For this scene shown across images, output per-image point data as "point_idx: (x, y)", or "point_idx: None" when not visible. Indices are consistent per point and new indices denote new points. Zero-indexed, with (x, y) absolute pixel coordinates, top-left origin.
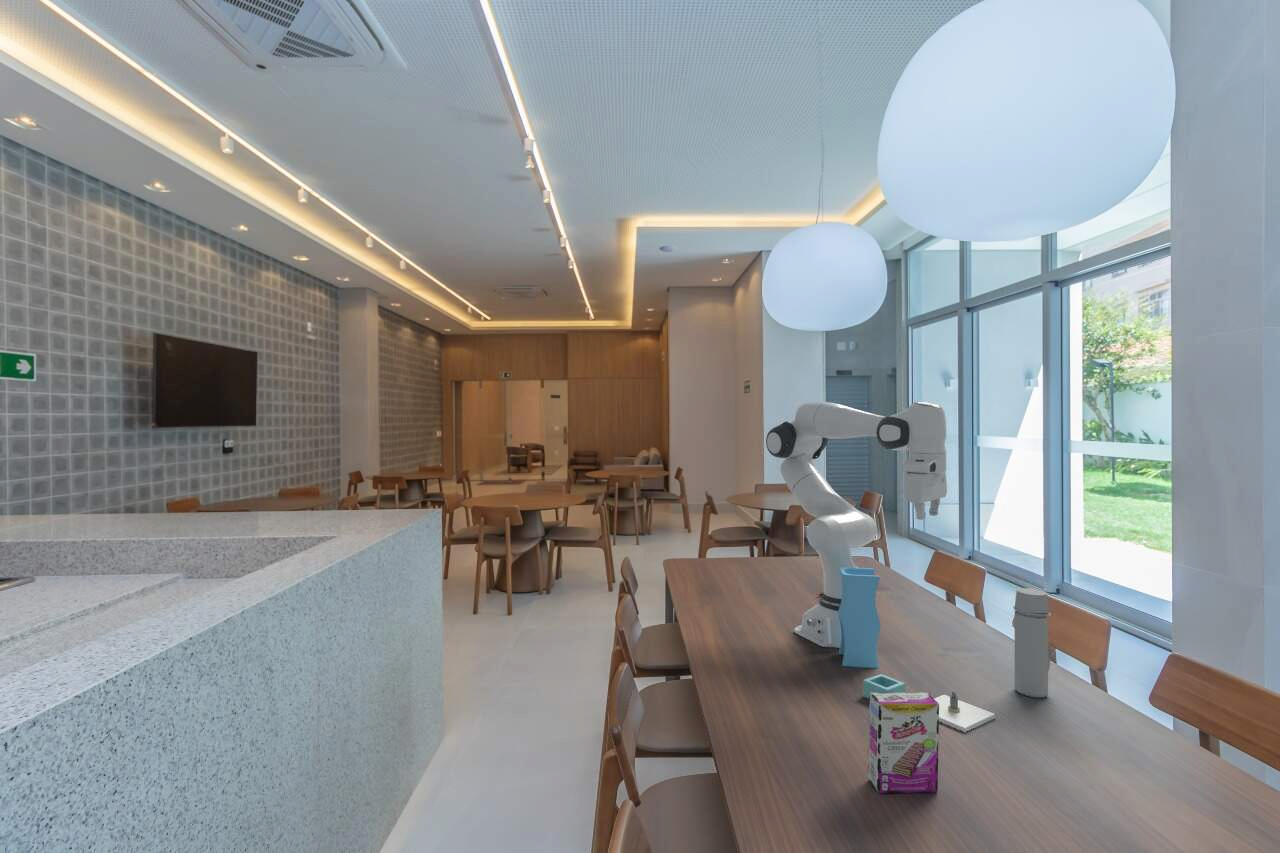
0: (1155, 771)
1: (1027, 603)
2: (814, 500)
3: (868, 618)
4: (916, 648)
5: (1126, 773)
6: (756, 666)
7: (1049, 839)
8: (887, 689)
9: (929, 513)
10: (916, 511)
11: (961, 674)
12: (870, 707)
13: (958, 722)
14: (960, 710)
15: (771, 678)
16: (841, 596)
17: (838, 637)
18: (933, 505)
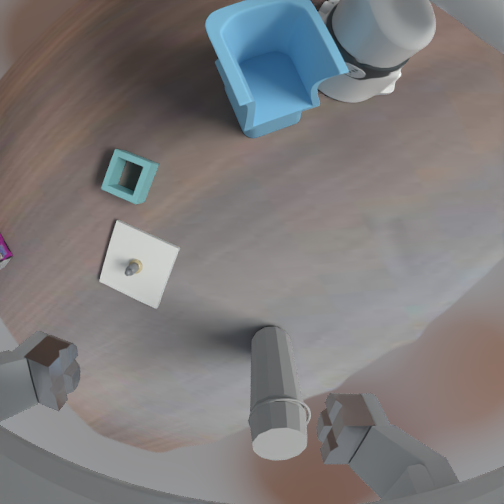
0: (143, 412)
1: (251, 428)
2: None
3: (236, 105)
4: (378, 180)
5: (123, 394)
6: (154, 3)
7: (11, 331)
8: (102, 188)
9: (335, 398)
10: (3, 356)
11: (293, 258)
12: None
13: (107, 273)
14: (140, 272)
15: (123, 35)
16: (335, 29)
17: None
18: (381, 461)
